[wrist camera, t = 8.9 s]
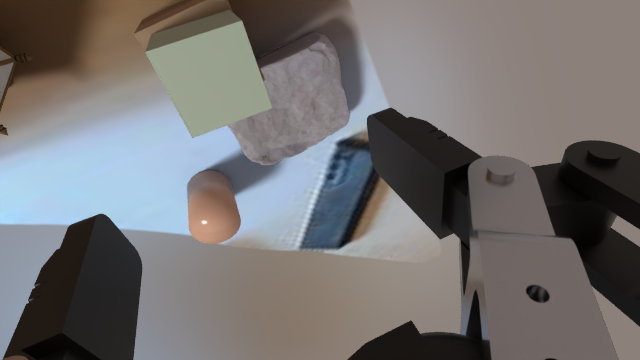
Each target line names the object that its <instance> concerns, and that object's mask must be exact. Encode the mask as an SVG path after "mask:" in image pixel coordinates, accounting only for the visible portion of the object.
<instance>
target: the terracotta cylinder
mask: <svg viewBox="0 0 640 360" xmlns="http://www.w3.org/2000/svg"><path fill="white" fill-rule="evenodd" d="M187 198H188V218H189V230H190V233H191V235H192V236H193V237H194V238H195V239H197V240H198V241H200V242H204V243H210V244H213V243H220V242H223V241H226V240H228V239H230V238H231V237H233V236H234V235H235V234H236V233H237V231H238V230H239V227H240V223H241V220H240V215H239V212H238V208H237V204H236V200H235V196H234V192H233V188H232V184H231V181H230V179H229V178H228V176H227V175H225V174H224V173H222V172H220V171H216V170H205V171H201V172H199V173H197V174H195V175H194V176H193V177H192V178H191V179H190V181H189V182H188V185H187Z"/></svg>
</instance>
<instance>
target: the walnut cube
mask: <svg viewBox="0 0 640 360" xmlns="http://www.w3.org/2000/svg"><path fill="white" fill-rule="evenodd" d="M227 10H230V11H232V12H233V10H232V8H231V6H230V3H229V1H228V0H185V1H183V2H180V3H178V4H176V5H174V6H172V7H170V8H168V9H165V10H163V11H161V12H159V13H157V14H155V15H152V16H150V17H148V18H146V19H144V20H142V21H141V23H140V24H139V26H138V28H137V29H136V31H135V33H134V35H135V37H136V38H137V40H138V41H139V42H140V44H141V45H142V47H143V48H144V50H145V51H146V48H147V45H148V42H149V39H150V37H151V34H154V33H157V32H161V31H164V30H167V29H170V28H173V27H176V26H179V25H183V24H186V23H189V22H192V21H195V20H198V19H201V18H205V17H208V16H211V15H214V14H217V13H220V12H223V11H227ZM233 13H234V12H233ZM254 57H255V56H254ZM255 60H256V59H255ZM256 62H257V61H256ZM257 65H258V63H257ZM258 68H259V71H260V74H261V77H262V80H263V81H265V78H264V75H263V73H262V71H261V69H260V67H259V65H258Z"/></svg>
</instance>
